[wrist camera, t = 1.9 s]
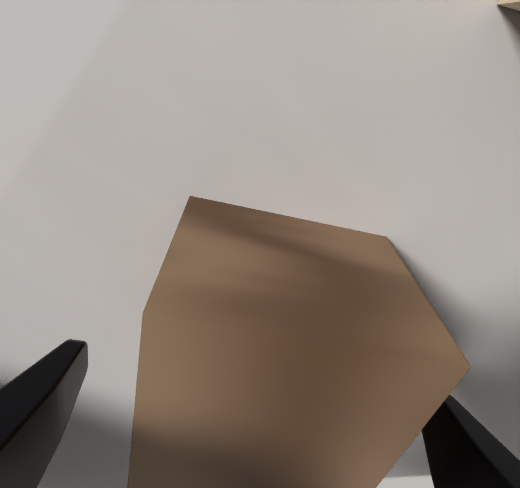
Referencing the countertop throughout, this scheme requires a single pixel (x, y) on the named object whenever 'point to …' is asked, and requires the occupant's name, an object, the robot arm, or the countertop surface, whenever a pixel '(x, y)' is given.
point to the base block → (510, 4)
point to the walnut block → (283, 356)
